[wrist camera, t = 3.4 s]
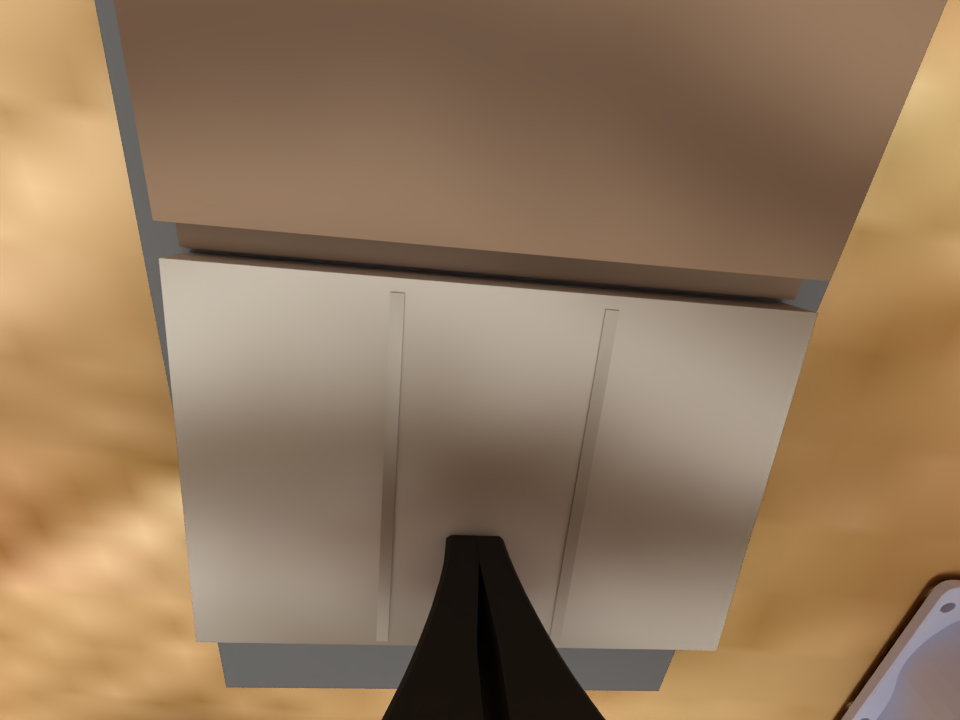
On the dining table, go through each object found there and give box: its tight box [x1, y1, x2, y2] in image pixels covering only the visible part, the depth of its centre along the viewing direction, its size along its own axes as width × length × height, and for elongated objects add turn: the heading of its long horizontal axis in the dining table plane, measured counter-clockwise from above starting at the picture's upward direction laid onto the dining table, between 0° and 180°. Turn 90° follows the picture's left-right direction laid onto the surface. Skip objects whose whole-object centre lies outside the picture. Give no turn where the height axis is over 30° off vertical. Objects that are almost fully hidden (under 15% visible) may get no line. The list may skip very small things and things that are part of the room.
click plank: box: [159, 252, 818, 650], centre depth 12 cm, size 10×14×1 cm
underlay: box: [95, 0, 829, 691], centre depth 14 cm, size 22×16×1 cm
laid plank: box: [114, 0, 947, 300], centre depth 10 cm, size 6×14×1 cm, turn 84°
